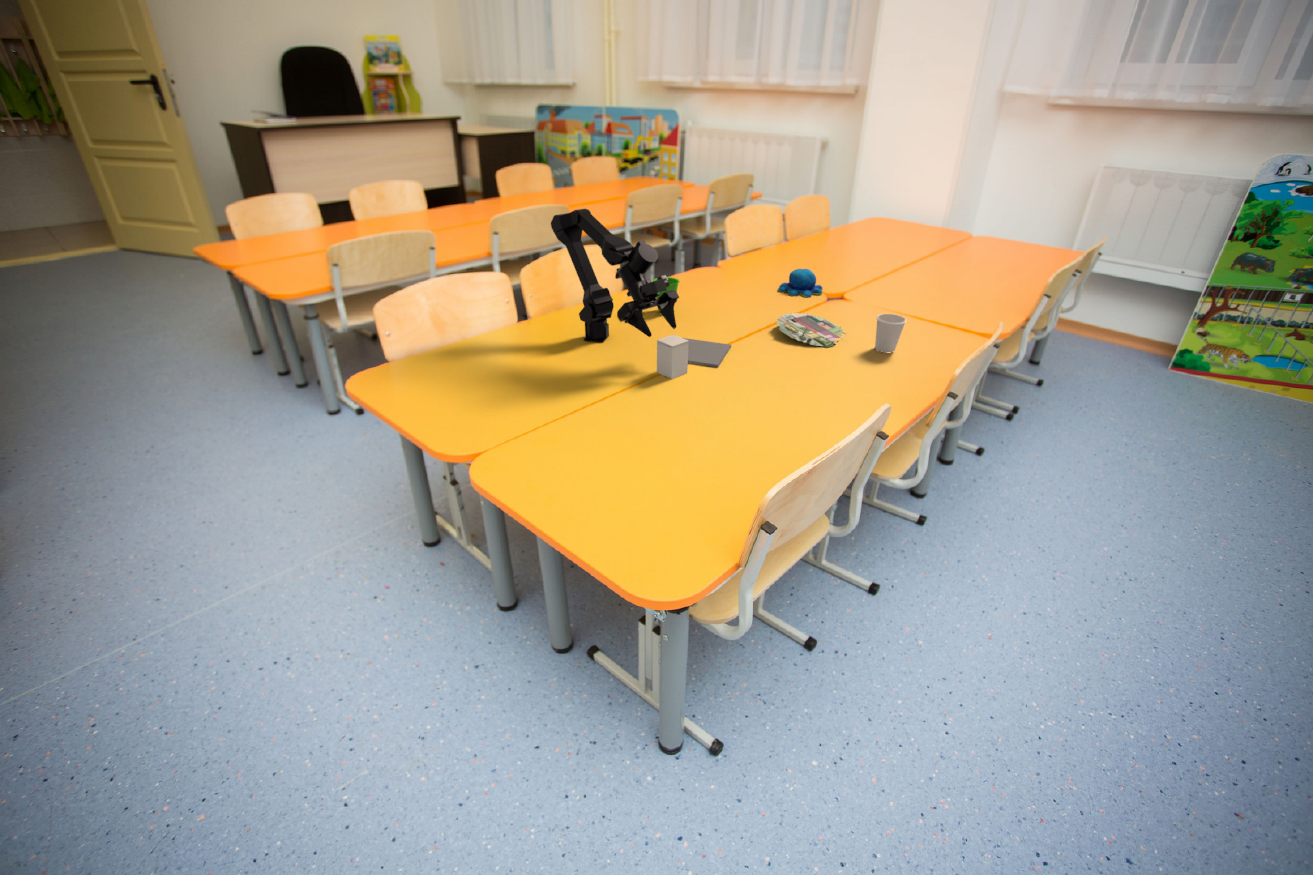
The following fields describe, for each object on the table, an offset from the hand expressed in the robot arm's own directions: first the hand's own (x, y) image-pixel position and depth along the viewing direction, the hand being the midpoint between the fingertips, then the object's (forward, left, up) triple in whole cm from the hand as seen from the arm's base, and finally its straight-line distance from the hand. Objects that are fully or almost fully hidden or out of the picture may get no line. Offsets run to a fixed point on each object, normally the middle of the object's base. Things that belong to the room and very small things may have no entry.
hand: (663, 332), depth 165 cm
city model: (+40, +38, -11) cm, 56 cm away
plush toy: (+34, +85, -11) cm, 92 cm away
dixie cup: (+62, +31, -11) cm, 70 cm away
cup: (-10, +46, -11) cm, 49 cm away
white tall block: (+3, -2, -11) cm, 11 cm away
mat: (+8, +13, -11) cm, 19 cm away
